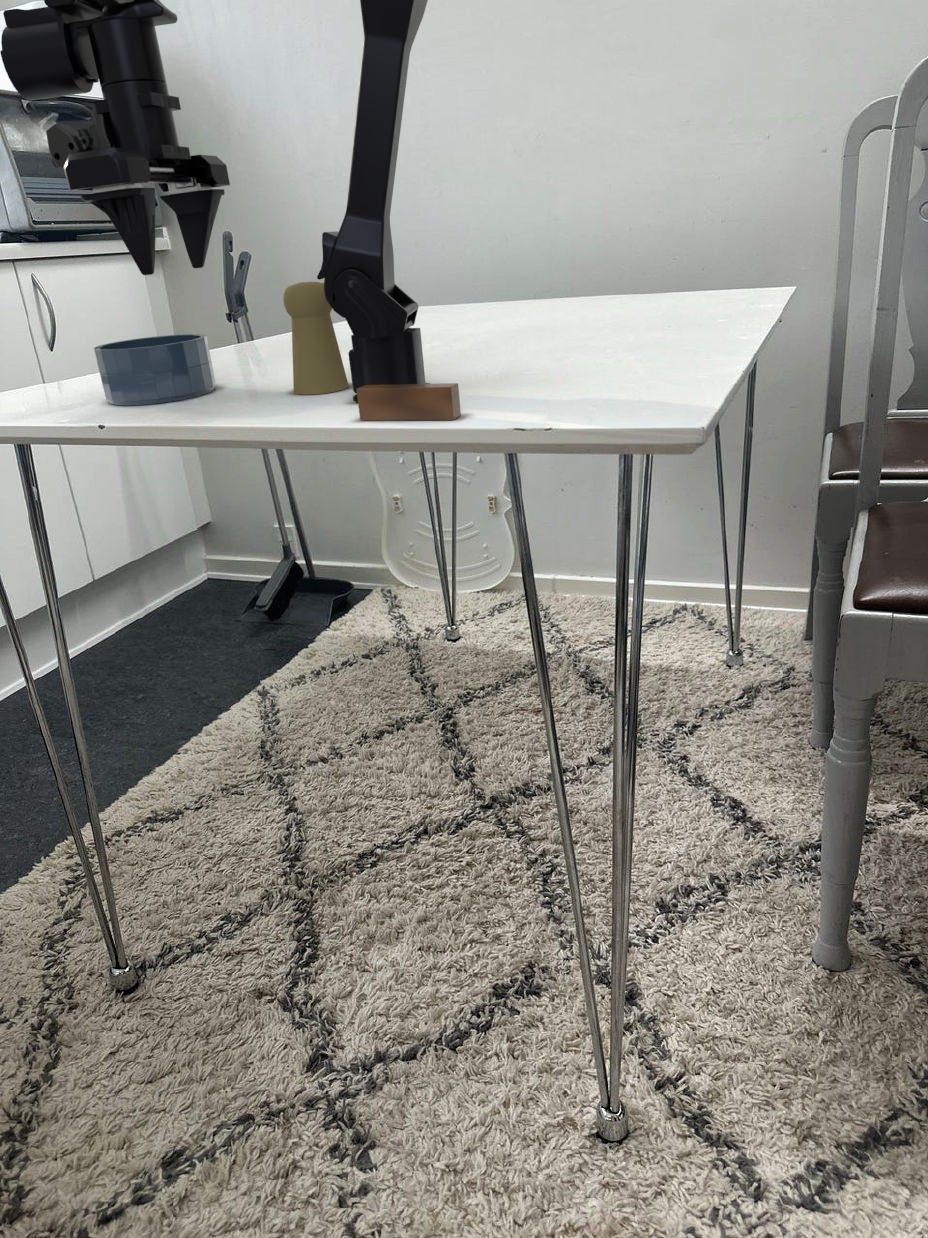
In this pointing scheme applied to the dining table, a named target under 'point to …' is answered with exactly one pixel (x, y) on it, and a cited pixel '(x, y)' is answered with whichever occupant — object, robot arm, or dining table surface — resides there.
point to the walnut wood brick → (409, 402)
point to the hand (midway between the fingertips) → (174, 271)
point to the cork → (313, 341)
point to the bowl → (155, 369)
